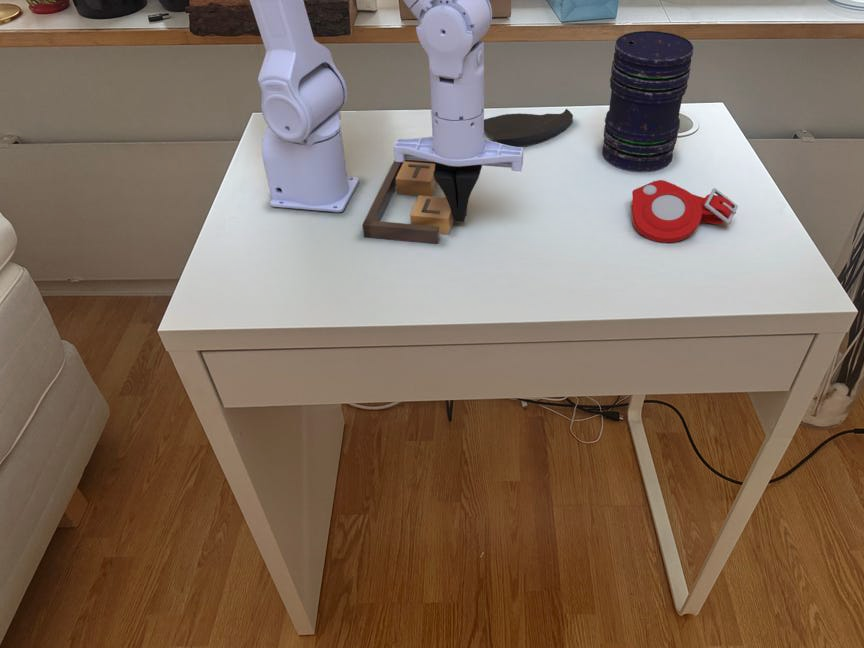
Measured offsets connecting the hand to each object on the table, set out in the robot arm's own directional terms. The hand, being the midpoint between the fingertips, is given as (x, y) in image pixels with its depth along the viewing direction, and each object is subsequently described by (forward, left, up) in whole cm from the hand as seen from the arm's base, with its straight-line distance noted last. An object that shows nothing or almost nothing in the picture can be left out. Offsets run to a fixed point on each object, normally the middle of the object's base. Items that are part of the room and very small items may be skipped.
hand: (460, 217), depth 89 cm
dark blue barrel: (+21, +21, -1) cm, 30 cm away
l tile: (-3, 0, -1) cm, 3 cm away
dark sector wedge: (+5, +25, -1) cm, 26 cm away
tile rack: (-6, +4, -1) cm, 8 cm away
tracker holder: (+26, +4, -1) cm, 27 cm away
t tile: (-7, +8, -1) cm, 11 cm away
